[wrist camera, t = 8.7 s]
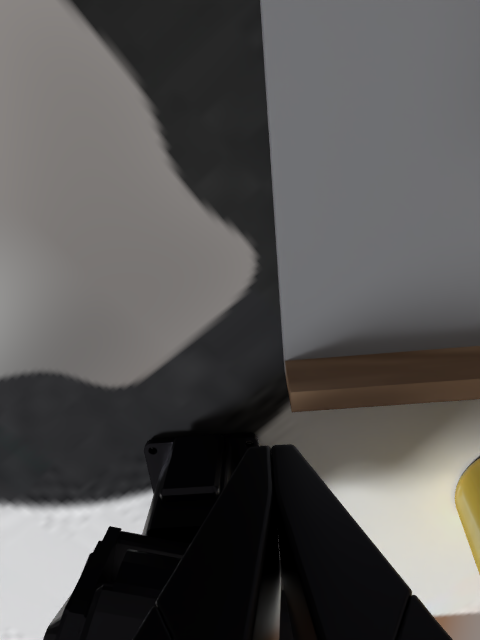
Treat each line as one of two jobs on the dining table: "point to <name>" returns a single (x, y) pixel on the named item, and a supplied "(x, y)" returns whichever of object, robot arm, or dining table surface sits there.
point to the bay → (376, 198)
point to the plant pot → (470, 507)
